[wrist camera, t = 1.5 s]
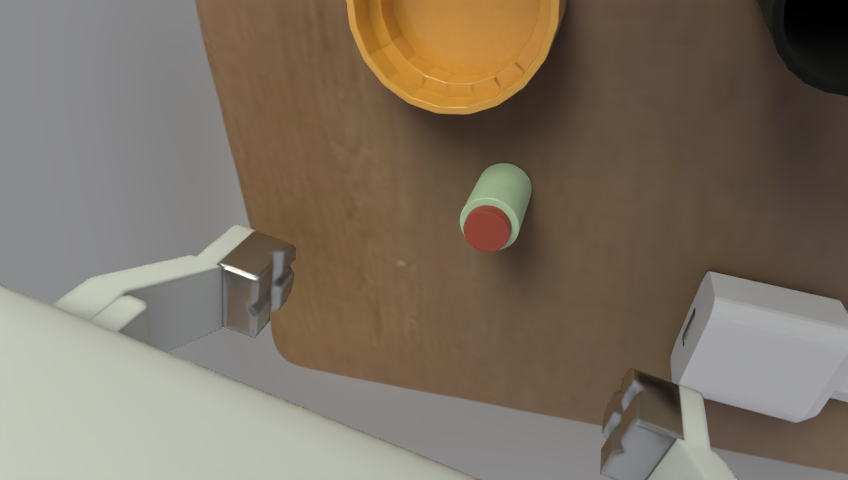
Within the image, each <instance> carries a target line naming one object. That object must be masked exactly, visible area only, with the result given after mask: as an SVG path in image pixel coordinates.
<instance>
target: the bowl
mask: <svg viewBox="0 0 848 480" xmlns="http://www.w3.org/2000/svg"><path fill="white" fill-rule="evenodd" d="M346 1H347V9H348V16H349V24H350V29H351V31H352V34H353V36H354V38H355V41H356V43H357V46H358V48H359V50H360V53H361V55H362V58H363V59H364V61H365V62H366V64H367V65H368V66H369V67H370V69H371V70H372V71H373V72H374V74H375V75H376V76H377V78H378V79H379V80H380V81H381V83H382V84H383V85H384V86H385V87H387V88H388V89H389V90H391V91H392V92H394V93H395V94H396V95H398V96H399V97H400V98H402V99H403V100H405V101H406V102H407V103H409V104H411V105H414V106H417V107H420V108H423V109H426V110H428V111H431V112H434V113H438V114H466V115H467V114H472V113H475V112H479V111H482V110H485V109H489V108H492V107H495V106H498V105H500V104H501V103H503V102H504V101H505V100H507V99H508V98H510V97H511V96H513V95H514V94H516V93H517V92H518V91H520V90H521V89H523V88H524V87H525V86H526V85H527V84H528V82H529V81H530V80H531V78H532V77H533V76H534V74H535V73H536V72H537V70H538V69H539V68H540V66H541V65H542V64H543V62H544V61H545V60H546V58H547V56H548V54H549V52H550V50H551V48H552V46H553V44H554V42H555V39H556V36H557V33H558V31H559V28H560V25H561V22H562V20H563V17H564V14H565V10H566V0H346Z"/></svg>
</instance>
